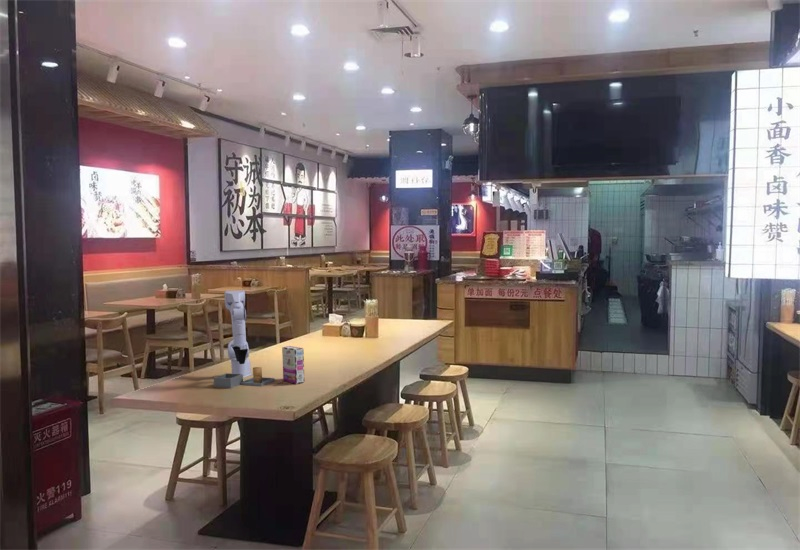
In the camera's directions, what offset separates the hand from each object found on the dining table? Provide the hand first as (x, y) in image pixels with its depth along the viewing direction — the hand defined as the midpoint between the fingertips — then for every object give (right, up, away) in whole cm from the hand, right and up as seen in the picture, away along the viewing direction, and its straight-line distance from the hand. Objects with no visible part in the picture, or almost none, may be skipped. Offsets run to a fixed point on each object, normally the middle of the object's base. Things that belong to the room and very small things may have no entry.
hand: (240, 362), depth 288 cm
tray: (+9, -10, -2) cm, 13 cm away
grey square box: (-4, -10, -5) cm, 12 cm away
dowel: (+8, -9, -2) cm, 13 cm away
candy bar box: (+25, -9, +1) cm, 27 cm away
